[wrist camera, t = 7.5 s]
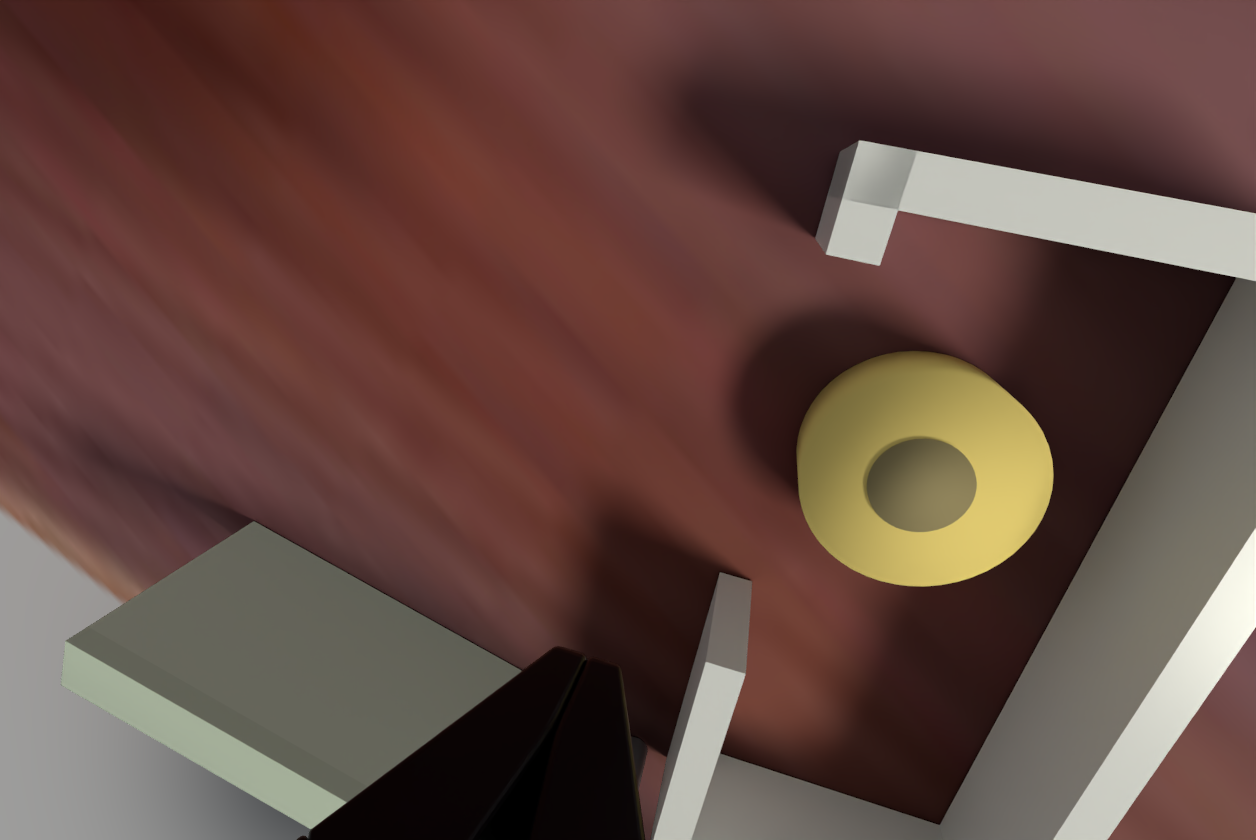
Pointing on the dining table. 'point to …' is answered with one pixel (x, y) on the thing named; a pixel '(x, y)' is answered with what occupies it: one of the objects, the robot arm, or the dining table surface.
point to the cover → (279, 672)
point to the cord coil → (921, 469)
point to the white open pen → (1102, 587)
